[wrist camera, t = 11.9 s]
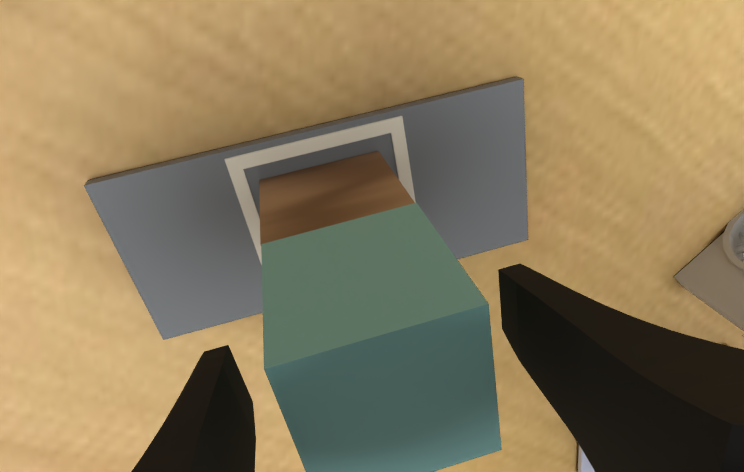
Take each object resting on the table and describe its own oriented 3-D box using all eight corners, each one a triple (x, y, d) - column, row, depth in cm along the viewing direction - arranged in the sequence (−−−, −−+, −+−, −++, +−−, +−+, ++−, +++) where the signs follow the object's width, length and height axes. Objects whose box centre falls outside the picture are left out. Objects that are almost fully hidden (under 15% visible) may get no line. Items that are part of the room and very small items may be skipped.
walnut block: (378, 150, 18) (416, 204, 14) (396, 251, 21) (433, 325, 16) (259, 179, 18) (260, 244, 14) (291, 280, 20) (300, 363, 16)
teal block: (416, 202, 14) (488, 303, 10) (436, 323, 16) (501, 449, 12) (261, 244, 14) (263, 369, 9) (302, 362, 16) (320, 507, 12)
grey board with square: (517, 76, 19) (524, 79, 18) (522, 234, 22) (529, 240, 22) (88, 180, 17) (82, 186, 17) (165, 332, 21) (162, 341, 20)
